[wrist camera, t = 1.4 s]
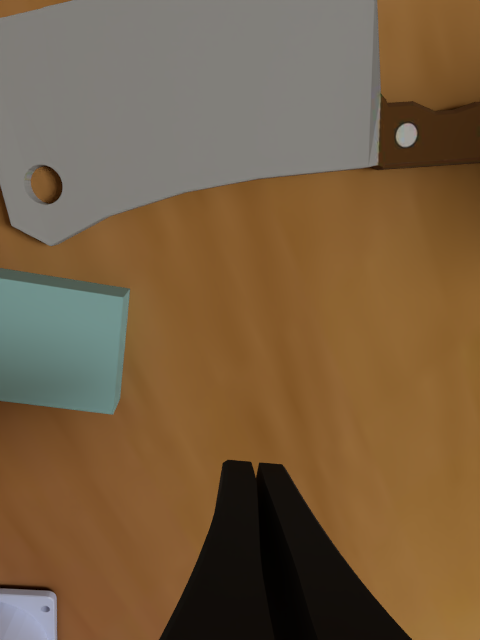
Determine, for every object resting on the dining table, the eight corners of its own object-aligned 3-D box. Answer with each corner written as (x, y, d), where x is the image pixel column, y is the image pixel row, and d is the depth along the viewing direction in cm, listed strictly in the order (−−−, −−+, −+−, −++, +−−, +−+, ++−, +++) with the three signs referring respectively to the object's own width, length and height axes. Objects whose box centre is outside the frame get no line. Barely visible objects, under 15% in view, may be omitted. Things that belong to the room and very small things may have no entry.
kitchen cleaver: (682, -116, 13) (614, 206, 16) (649, -94, 14) (591, 205, 17) (-82, -74, 12) (-1, 249, 15) (-59, -53, 13) (12, 246, 16)
